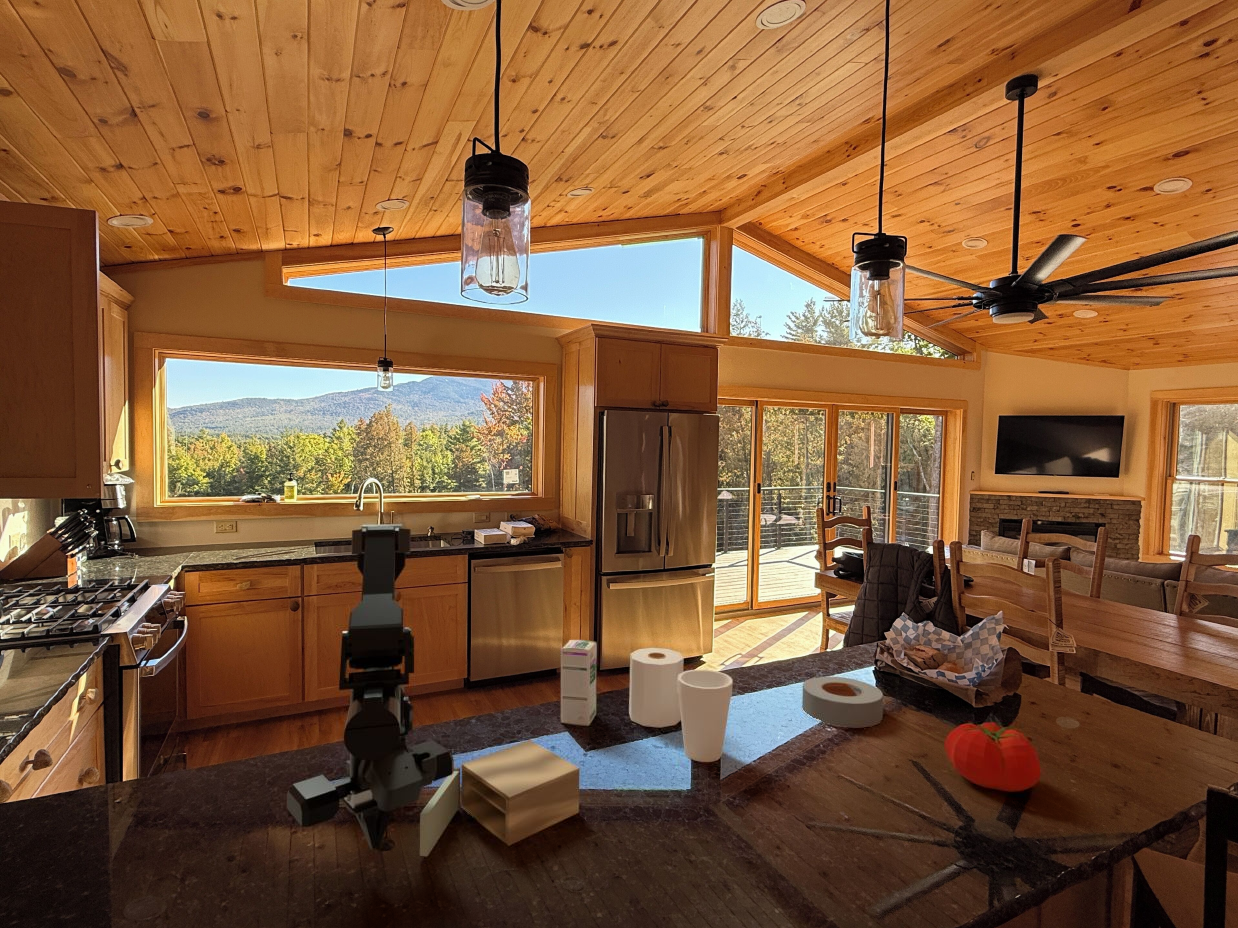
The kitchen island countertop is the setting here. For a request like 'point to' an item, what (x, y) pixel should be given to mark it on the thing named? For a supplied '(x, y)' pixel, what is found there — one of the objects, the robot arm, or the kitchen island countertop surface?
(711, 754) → the foam cup
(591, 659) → the syrup box
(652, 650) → the toilet paper
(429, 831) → the door
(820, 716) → the tape roll
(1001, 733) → the tomato
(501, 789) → the cabinet
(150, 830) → the kitchen island countertop surface
